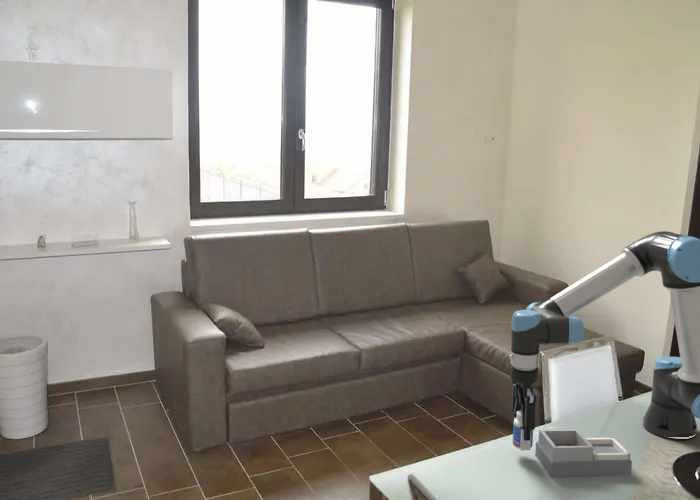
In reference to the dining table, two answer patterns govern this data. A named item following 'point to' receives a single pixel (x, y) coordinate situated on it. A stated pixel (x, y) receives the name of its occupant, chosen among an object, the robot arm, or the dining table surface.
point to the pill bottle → (519, 430)
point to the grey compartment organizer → (581, 454)
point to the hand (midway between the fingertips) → (521, 444)
